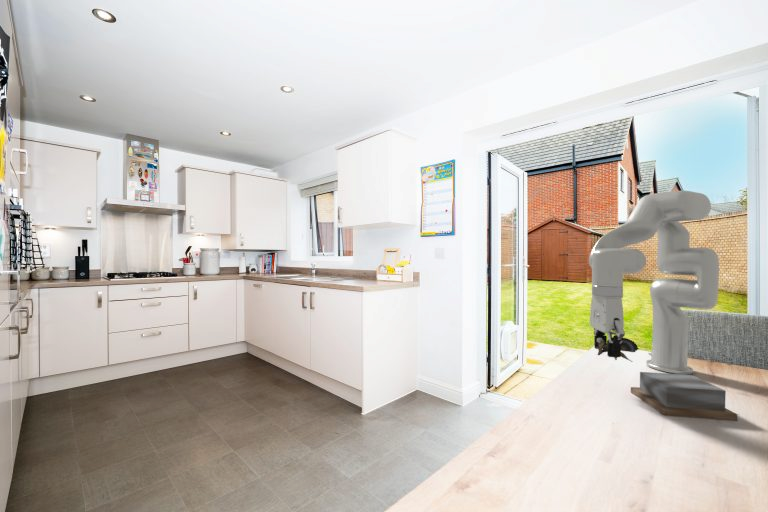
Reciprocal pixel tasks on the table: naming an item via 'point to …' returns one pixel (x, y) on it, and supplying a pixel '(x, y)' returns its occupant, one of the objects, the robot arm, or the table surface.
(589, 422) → the table surface
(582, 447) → the table surface
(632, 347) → the eagle figurine
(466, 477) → the table surface
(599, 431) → the table surface
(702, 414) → the pedestal
